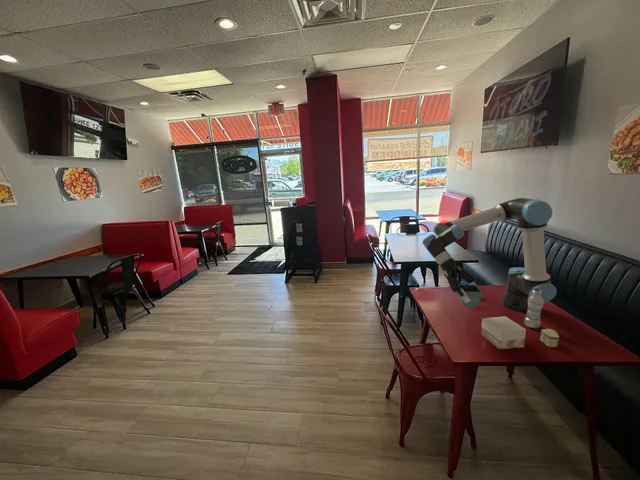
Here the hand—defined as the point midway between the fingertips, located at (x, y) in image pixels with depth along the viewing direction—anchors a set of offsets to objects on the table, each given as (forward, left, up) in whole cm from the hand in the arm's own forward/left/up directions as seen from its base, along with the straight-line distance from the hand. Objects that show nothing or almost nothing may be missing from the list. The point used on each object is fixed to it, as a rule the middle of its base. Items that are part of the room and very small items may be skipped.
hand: (474, 297), depth 130 cm
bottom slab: (-10, +8, -19) cm, 23 cm away
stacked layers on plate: (-29, +13, -19) cm, 37 cm away
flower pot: (+1, -2, -5) cm, 6 cm away
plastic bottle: (-33, -1, -19) cm, 37 cm away
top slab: (-10, +8, -14) cm, 19 cm away
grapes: (-23, -41, -19) cm, 50 cm away
